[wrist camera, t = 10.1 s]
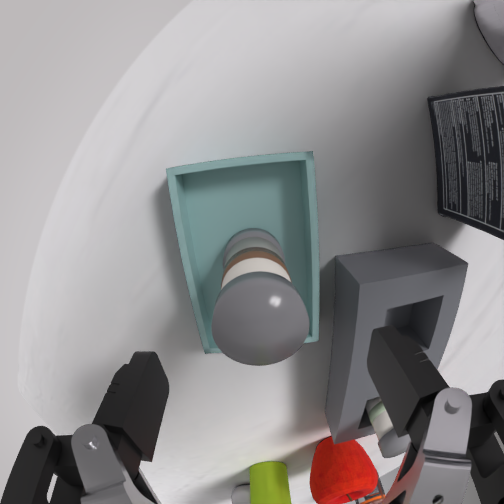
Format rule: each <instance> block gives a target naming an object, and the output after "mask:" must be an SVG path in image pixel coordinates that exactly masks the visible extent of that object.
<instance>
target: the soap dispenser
mask: <svg viewBox="0 0 504 504" xmlns="http://www.w3.org/2000/svg"><path fill="white" fill-rule="evenodd" d="M249 470H250V497H251V504H291V498H290V491H289V483H288V475H287V468H286V465H285V464H284V463H281V462H261V463H257V464H254V465H252V466H251V467H250V469H249Z"/></svg>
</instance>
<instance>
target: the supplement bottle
mask: <svg viewBox="0 0 504 504" xmlns="http://www.w3.org/2000/svg"><path fill="white" fill-rule="evenodd" d="M376 471H377V470H376ZM377 475H378V472H377ZM384 498H385V493H384V490H383V487H382V484H381V481H380V478H379V475H378V482H377V486H376V488H375V489H374V490H373V492H372V493H370V494H368V495H366V496H364V497H362V498H359V499H356V500H355V501H356V504H381V503H382V501H383V500H384Z"/></svg>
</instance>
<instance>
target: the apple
mask: <svg viewBox="0 0 504 504" xmlns="http://www.w3.org/2000/svg"><path fill="white" fill-rule="evenodd" d="M377 482H378V475H377V471H376V469H375V467H374V465H373V463H372V461H371V459H370V458H369V456H368V455H367V453H366V452H365V450H364V449H363V447H362V446H361V445H360V444H359V443H358V442H357V441H356V440H355V439H354V440H350V441H346V442H342V443H338V444H334V442H333V439H332V437H329V438H326V439H324V440H323V441H322V442H320V443H319V444H318V446H317V448H316V451H315V454H314V457H313V461H312V467H311V473H310V489H311V493H312V496H313V499H314V500H315V501H316V503H317V504H343V503H347V502H350V501H353V500H356V499H359V498H362V497H364V496H366V495H368V494H370V493H372V492H373V490H374V489H375V488H376V486H377Z"/></svg>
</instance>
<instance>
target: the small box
mask: <svg viewBox="0 0 504 504" xmlns="http://www.w3.org/2000/svg"><path fill="white" fill-rule="evenodd" d="M428 103H429V109H430V115H431V121H432V128H433V135H434V143H435V153H436V165H437V181H438V213H439V214H440V215H441V216H443V217H450V218H452V219H455V220H458V221H460V222H463V223H465V224H467V225H470V226H472V227H475V228H477V229H480V230H482V231H485V232H487V233H489V234H491V235H494V236H496V237H498V238H500V239H503V240H504V86H500V87H491V88H482V89H475V90H469V91H463V92H457V93H451V94H446V95H441V96H431V97H428Z"/></svg>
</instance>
